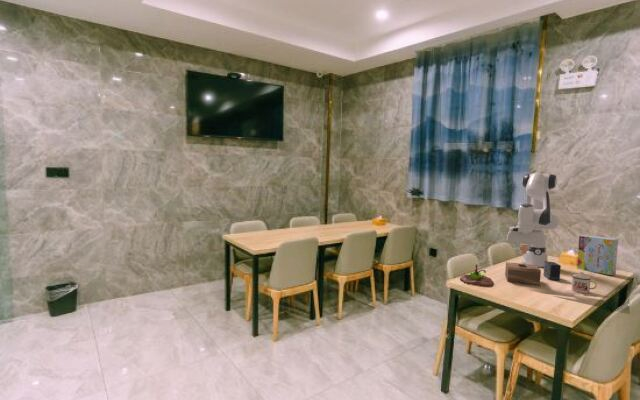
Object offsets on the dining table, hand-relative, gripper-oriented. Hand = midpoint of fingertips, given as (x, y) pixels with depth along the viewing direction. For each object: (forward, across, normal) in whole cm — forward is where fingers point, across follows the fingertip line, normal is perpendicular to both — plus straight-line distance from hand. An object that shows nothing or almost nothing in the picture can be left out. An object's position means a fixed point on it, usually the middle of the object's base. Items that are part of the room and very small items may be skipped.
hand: (523, 250), depth 231 cm
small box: (+21, -20, -17) cm, 33 cm away
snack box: (+20, -55, -53) cm, 79 cm away
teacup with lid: (+21, -31, +8) cm, 38 cm away
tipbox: (+20, 0, 0) cm, 20 cm away
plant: (+21, +28, +16) cm, 38 cm away
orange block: (+2, 0, 0) cm, 2 cm away
